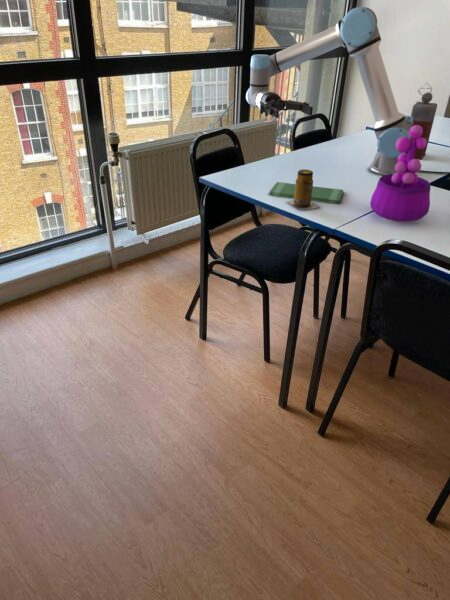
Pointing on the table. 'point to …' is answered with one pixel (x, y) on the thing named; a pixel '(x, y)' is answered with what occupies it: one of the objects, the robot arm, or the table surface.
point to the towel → (317, 192)
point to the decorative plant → (403, 184)
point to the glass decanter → (423, 121)
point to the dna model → (424, 88)
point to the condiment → (303, 190)
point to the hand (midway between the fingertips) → (294, 112)
